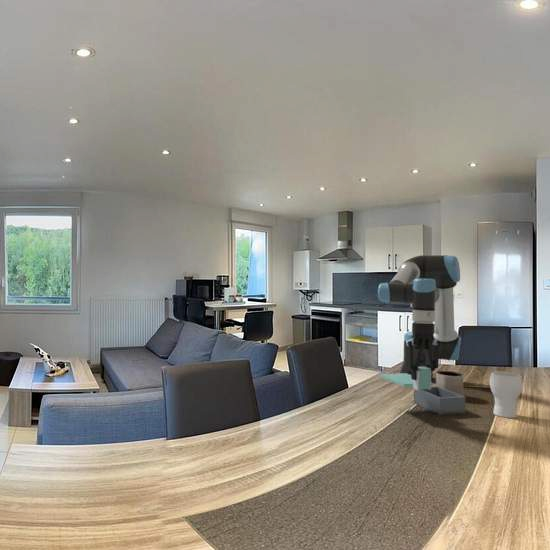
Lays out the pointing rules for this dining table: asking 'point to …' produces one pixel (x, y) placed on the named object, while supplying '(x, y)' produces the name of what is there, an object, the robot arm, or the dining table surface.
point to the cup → (505, 392)
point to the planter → (450, 381)
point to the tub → (440, 400)
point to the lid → (407, 381)
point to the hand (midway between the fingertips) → (421, 388)
